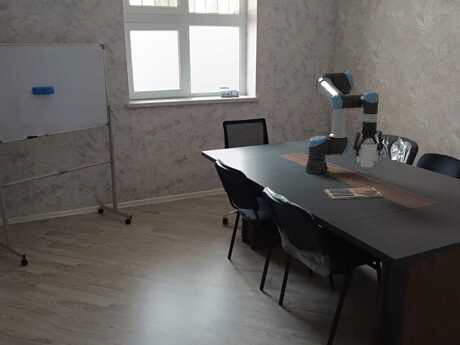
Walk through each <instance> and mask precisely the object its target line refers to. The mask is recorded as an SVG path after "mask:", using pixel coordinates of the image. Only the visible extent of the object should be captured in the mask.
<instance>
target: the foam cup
mask: <svg viewBox="0 0 460 345" xmlns="http://www.w3.org/2000/svg"><path fill="white" fill-rule="evenodd" d="M376 149H377V143H376V144H374V142H373V141H370V140H369V141H367V140H365V141H364V143H363V144H361V148H360V151H361V153H360V167H362V168H372V167H374V163H375V161H374V158H375V153H376Z"/></svg>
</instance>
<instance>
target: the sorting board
mask: <svg viewBox="0 0 460 345" xmlns="http://www.w3.org/2000/svg"><path fill="white" fill-rule="evenodd" d="M323 192H324V193H325V194H326V195H327V196H328V197H329V198H330V199H331V200H345V199H368V198H384V194H383V193H382V192H381V191H379V190H377V189H376V188H375V187H374V186H368V187H367V186H366V187H365V186H364V187H346V188H345V187H344V188H326V189H325V188H324V189H323Z"/></svg>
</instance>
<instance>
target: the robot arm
mask: <svg viewBox="0 0 460 345" xmlns="http://www.w3.org/2000/svg"><path fill="white" fill-rule="evenodd" d="M315 88H316V90H317V91H318V92H319V93H320V94H323V95H324V96H325V97H326V98H327V99H328V100H329V106H330V108H331V109H332V116H331V117H332V119H331V120H332V121H331V132H330V134H329V135H328V137H327V136H326V135H316V136H312V137H310V138H309V139H308V144H307V149H308V150H307V162H306V164H305V167H304V171H305V172H306V173H308V174H313V175H323V174H326V173H328V172H329V168H328V163H327V160H326V159H327V158H326V157H328V156H344V155H346V154H347V153H349V151H350V147H351V141H350V138H349V137H348V135H347V134H346V121H347V110H348V109H351V110H352V109H363V110H362V122H361V123H362V124H361V131H359V130H357V131H355V139H354V141H353V146H352V150H354V151H355V157H356V162H357V163H360V164H361V160H360V153H361V151H360V148H361V144H363V143H364V141H367V139H372V142H374V144H376V143H377V149H376V153H375V158H374V162H375V163H376V162H377V163H378V159H379V156H380V154H381V150H383V149H384V148H385V147H384V142H383V136H382V135H383V131H382V130H377V129H378V128H377V126H378V122H377V121H378V112H379V100H380V98H379V96H380V95H379V93H378V92H376V91H368V92H365V93H358V94H351V92H352V91H353V90H354V88H355V80H354V76H353V75H352V73H350V72H346V71H344V72H342V71H341V72H327V73H324V74H321V75H320V76H319V77H318V78H317V80H316V81H315ZM361 135H362V136H361ZM376 135H377V137H376ZM360 137H361V139H360ZM377 139H378V141H377Z"/></svg>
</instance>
